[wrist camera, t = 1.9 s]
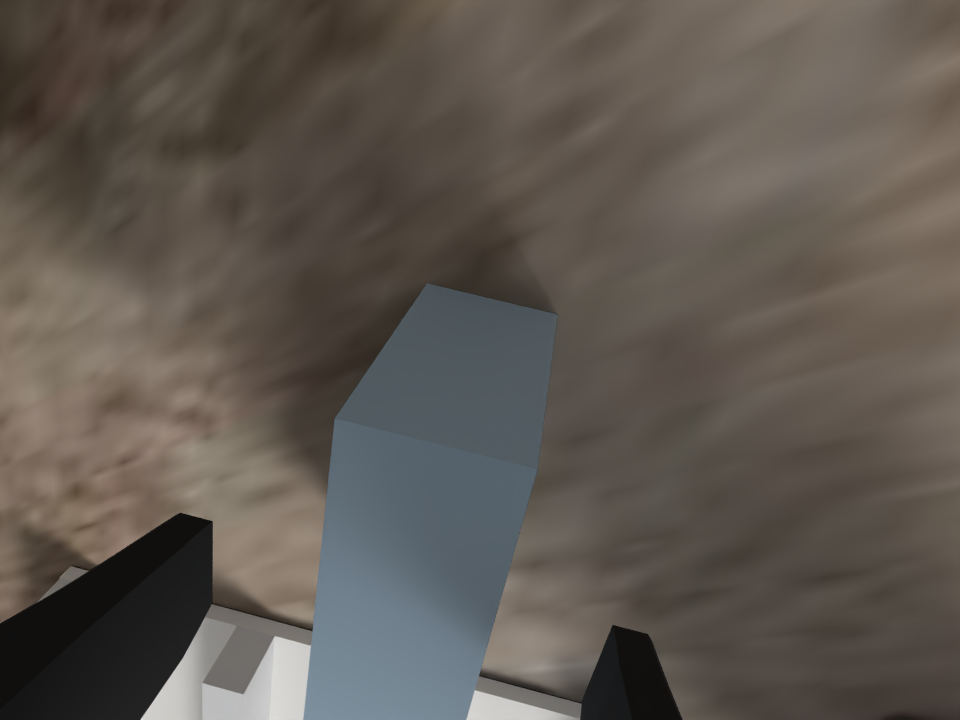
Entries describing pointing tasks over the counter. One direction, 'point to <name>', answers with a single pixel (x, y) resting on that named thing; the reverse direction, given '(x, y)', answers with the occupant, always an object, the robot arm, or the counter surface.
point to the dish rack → (287, 675)
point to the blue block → (427, 508)
